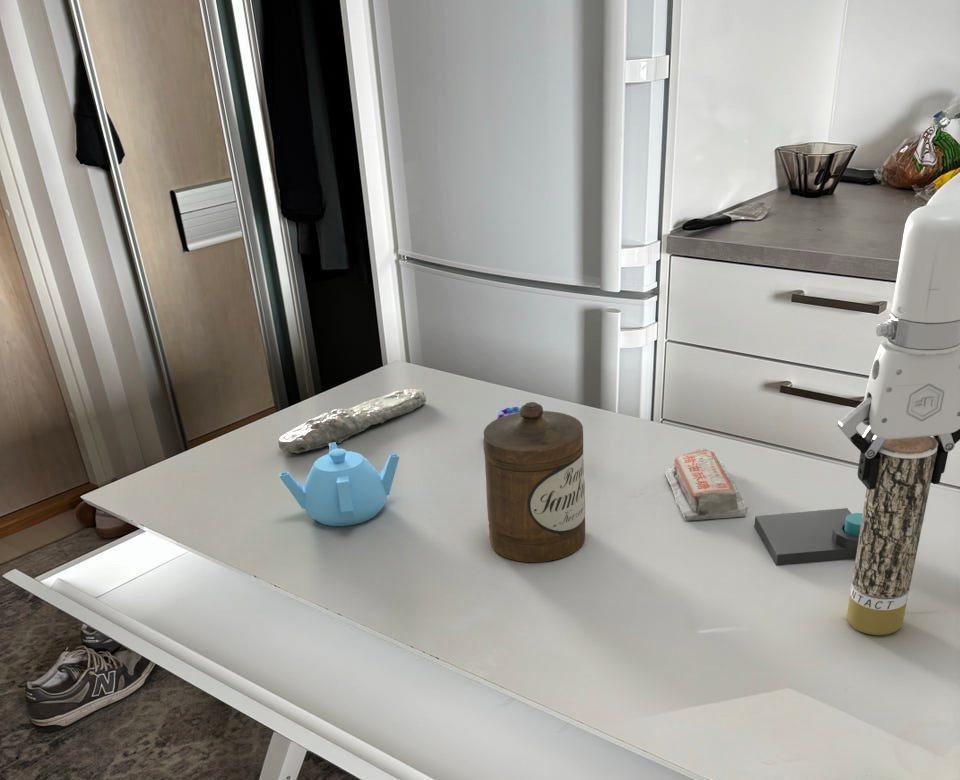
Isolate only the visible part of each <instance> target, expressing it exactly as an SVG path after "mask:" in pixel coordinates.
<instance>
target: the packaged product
mask: <svg viewBox="0 0 960 780" xmlns="http://www.w3.org/2000/svg"><path fill="white" fill-rule="evenodd" d="M672 465H673V466H671V467H669V468H667V467H664V474H665V477H666V479H667V481H668V483H669V485H670V487H671V491H672V493H673V496H674V501H675V504H676V505H678V507H679V510H680V513H681V514H682V516H683V518H684V520H685V521H701V520H703V521H704V520H716V519H717V520H718V519H729V518H741V517H747V515H748V514H747V513H748V506H747V505H746V502H745V500H744V499H743V497H742V495H741V494H740V491H739V489H738V488H737V486H736V485H735V482H734V480H733V478H732V477H731V475H730V473H729V471H728V469H727V467H726V465H725V464H724V462H723V460H719V459H718V458H717V456H716V454H715V452H714V451H713V450H708V449H707V448H700V449H696V450H694V451H690V452H687V453H684V454H681V455H679V456H676V457H675V459H674V460H673V463H672Z"/></svg>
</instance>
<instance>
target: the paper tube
mask: <svg viewBox="0 0 960 780" xmlns="http://www.w3.org/2000/svg"><path fill="white" fill-rule="evenodd" d="M937 446H938V442H937V441H936V440H935V439H934V438H933V436H926V437H914V438H903V439H886V440H885V442H884V443H883V445H882V446H881V448H880V449H879V451H878V452H877V456H878V457H879V459H880V463H879V469H878V475H877V481H876V487H875V488H874V489H872V490H868V489H867V488H866V492H865V496H864V504H863V509H862V513H863V515H862V522H861V528H860V534H859V541H858V547H857V553H856V559H854V560H855V561H854V565H853V566H854V567H853V574H852V577H851V578H852V579H851V584H850V591H849V601H848V604H847V610H846V611H847V612H846V620H847V622H848V624H849V625H850V626H851V627H852V628H853V629H855V630H856V631H858V632H861V633H863V634H866V635H871V636H887V635H891V634H893V633H895V632H897V631H898V630H899V629H901V627H903V623H904V618H905V614H906V609H907V603H908V599H909V594H910V589H911V584H912V580H913V579H912V578H913V575H914V568H915V564H916V559H917V554H918V553H917V552H918V549H919V544H920V538H921V534H922V528H923V524H924V519H925V513H926V508H927V504H928V500H929V499H928V497H929V494H930V488H931V485H932V482H931V479H932V474H933V469H934V464H935V459H936V454H937Z"/></svg>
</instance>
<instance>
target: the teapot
mask: <svg viewBox="0 0 960 780" xmlns="http://www.w3.org/2000/svg"><path fill="white" fill-rule="evenodd" d="M337 444H338V443H337ZM337 444H336V442H334V443H329V445H328V448H329V452H328V453H327V454H324V455H322V456H320V457H318V458H317V459H316V460H315V461H314V463H313V464H312V466H311V468H310V471H309V473H308V475H307V477H306V481H305V483H304V484H303V485H302V484H301V483H300V482H299V481H298V480H297V479H296V478H294V476H293V475H292V474H291V473H290V471H284V472H279V474H278V475H279V478H280V480H281V481H282V482H283V484H284V486H285V487H286V488H287V489H288V491H289V492H290V494H291V495H292V497H294V499H295V501H296V502H297V503H298V505H299V506H300V507H301V509H303V510H305V512H306V513H307V515H308V516H309V517H310V518H312V519H313V520H315V521H316V522H318V523H319V524H322V525H325V526H329V527H347V526H348V527H349V526H354V525H358V524H362V523H365V522H367V521H369V520H371V519H373V518H374V517H376V516H377V515H379V513H380V511H381V510H382V509H383V507H384V506H385V504H386V502H387V498H388V496H390V493H391V489H392V485H393V481H394V478H395V474H396V472H397V467H398V464H399V460H400V453H391V454H389V455H388V458H387V460H386V462H385V464H384V466H383V468H382V471H381V472H380V473H379V472H378V471H377V470H376V468H375V467H374V466H373V465H372V464H371V463H370V461H369V460H368V459H367V458H366V457H364V456H363V455H362V454H361V453H359V452H356V451H350V450H349V451H348V450H346V449H344V448H339V447H338V445H337Z"/></svg>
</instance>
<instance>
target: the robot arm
mask: <svg viewBox="0 0 960 780" xmlns="http://www.w3.org/2000/svg"><path fill="white" fill-rule="evenodd" d="M875 334H876V336H877V337H884V338H886V339H884V340H882V341H880V344H879V347H878V349H877V351H876V354H875V356H874V360H873V363H872V366H871V369H870V371H869V372H870V373H869V376H868V380H867V384H866V389H865V392H864V398H863V401H862V402H860V404H858V405H857V406H855V408H853V409H852V410H851V411H850V412H849V413H847V414H846V415H845V416H844V417H843V418H841V419H840V420H839V421H838V423H837V427H838V428H839V430H840V431H841V432H842V433H843V434H844V435H845V437H847V439H848V440H849V441H850V443H852V444H853V445H854V447H856V449H858V450H859V451H860V455H859V460H858V467H857V479H859V481H860V482H861V483H862V484H863V485H864V486H865V488H866V490H867V489H868V490H872V489H874V488H875V487H876V481H877V475H878V469H879V463H880V459H879V457H878V456H877V452H878V451H879V449H880V448H881V446H882V445H883V443H884V442H885V440H886V439H903V438H914V437H926V436H931V437H933V438H934V439H935V440H936V441H937V442H938V446H937V454H936V459H935V464H934V469H933V474H932V479H931V484H933V485H938V484H940V482H941V479H942V474H944V473H945V471H946V470H945V469H946V466H947V461H948V455H949V452H951V451H953V450H954V449H955V445H956V444H957V443H958V442H960V172H958V173H957V174H955V175H954V176H953V177H952V178H950V179H949V180H948V181H946V182H945V183H944V184H943V185H942V186H941V187H940V188H939V189H937V191H936V192H935V193H934V194H933V195H932V196H931V198H930V199H928V201H927V203H926V204H925V205H924V206H920V207H918V208H916V209H914V210H913V211H912V212H911V213H910V214H909V215H908V217H907V219H906V222H905V225H904V230H903V235H902V242H901V247H900V255H899V261H898V269H897V275H896V280H895V288H894V293H893V299H892V306H891V312H890V313H888V319H887V321H885V322H883V323H882V322H881V323H878V324H877V325H876V328H875ZM861 423H862V424H864V426H865V425H866V426H868V427H867V428H866V430H865V431H864V433H863V435H861V433H860V432H859V431H858V429H857V427H858V425H859V424H861Z"/></svg>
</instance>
